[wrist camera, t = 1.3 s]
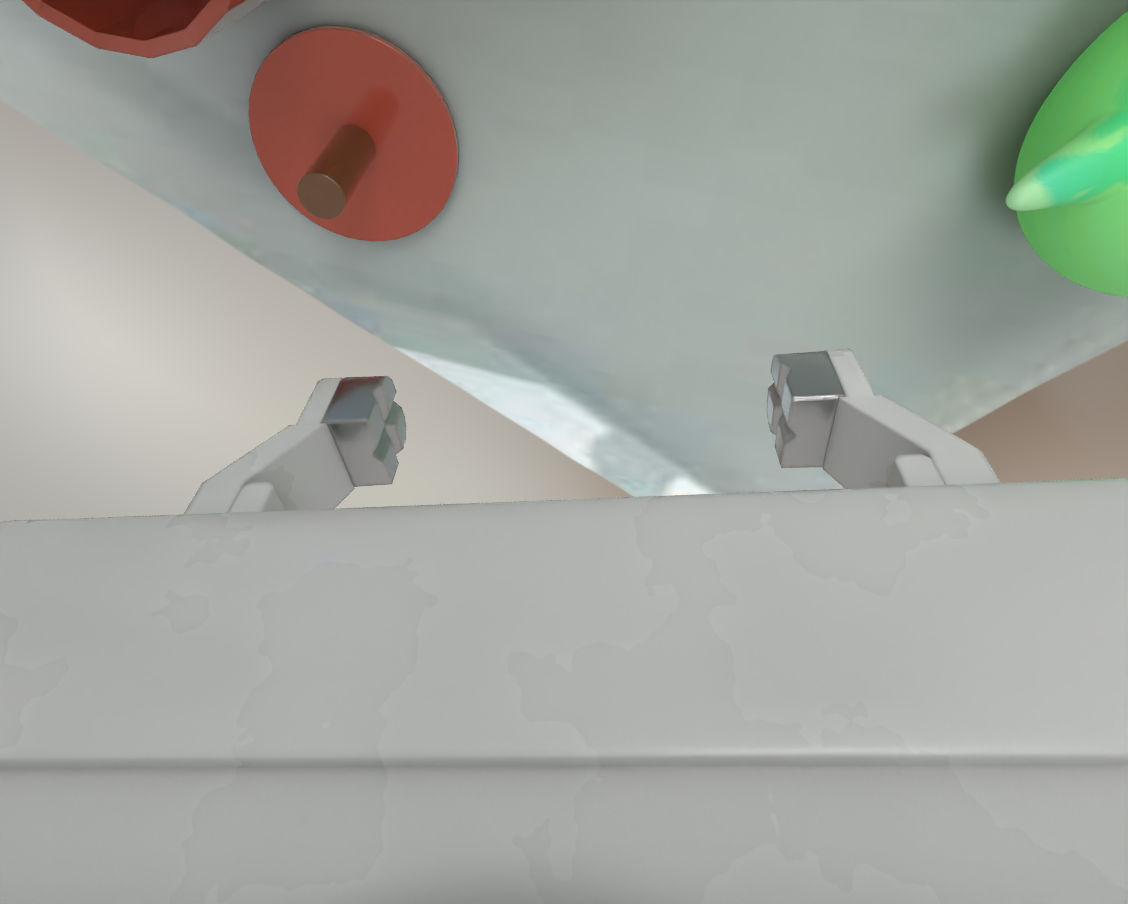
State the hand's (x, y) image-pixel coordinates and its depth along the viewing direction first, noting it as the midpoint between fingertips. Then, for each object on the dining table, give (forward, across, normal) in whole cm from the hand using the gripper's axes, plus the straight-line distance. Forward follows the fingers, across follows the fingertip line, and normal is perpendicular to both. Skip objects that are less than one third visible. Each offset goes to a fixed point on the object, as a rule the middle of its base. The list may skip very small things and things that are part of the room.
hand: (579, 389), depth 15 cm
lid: (+32, +15, +4) cm, 36 cm away
